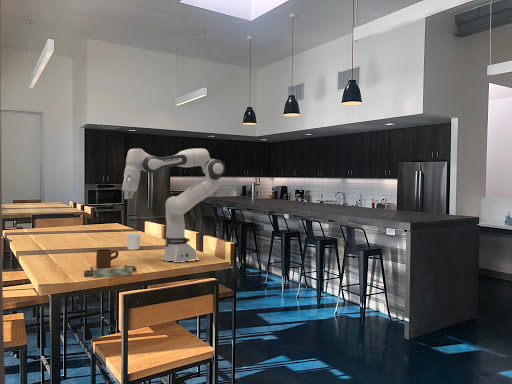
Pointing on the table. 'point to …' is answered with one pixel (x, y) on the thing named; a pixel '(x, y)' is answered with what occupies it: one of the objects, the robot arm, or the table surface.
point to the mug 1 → (105, 258)
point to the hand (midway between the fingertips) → (128, 198)
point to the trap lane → (109, 272)
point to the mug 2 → (132, 241)
